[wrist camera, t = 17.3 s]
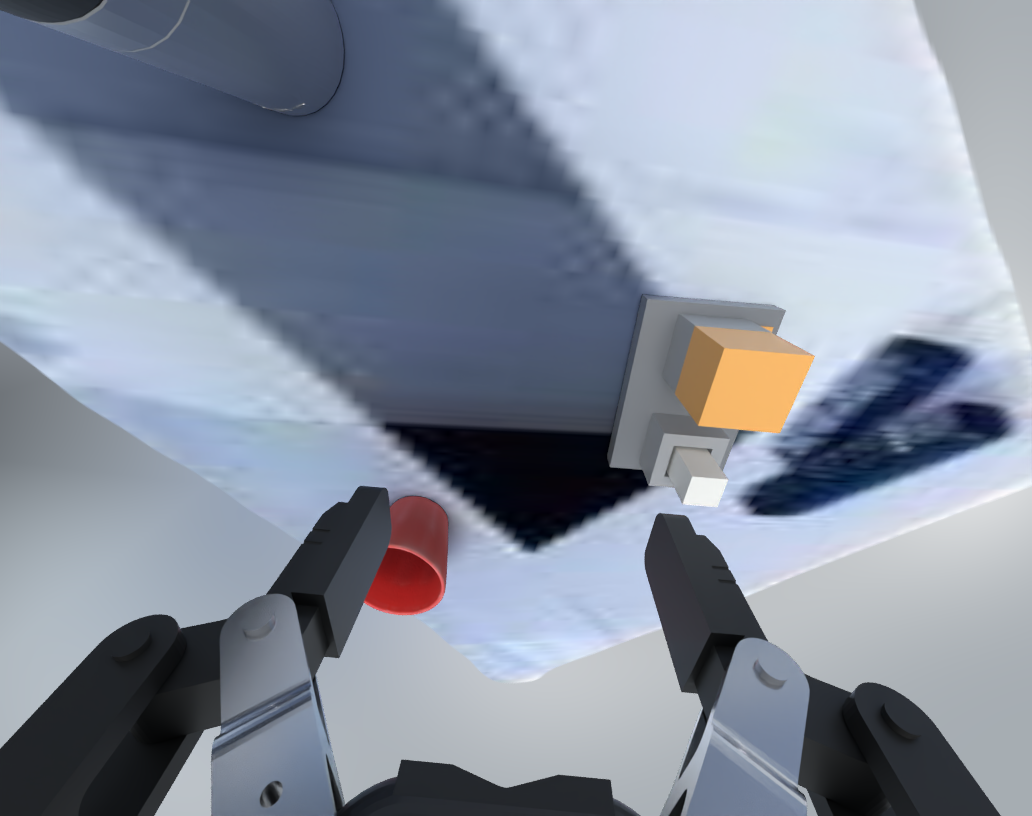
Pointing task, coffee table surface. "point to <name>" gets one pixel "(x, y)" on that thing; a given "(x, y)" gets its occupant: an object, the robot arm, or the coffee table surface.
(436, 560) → the flower pot
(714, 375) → the orange wooden cube
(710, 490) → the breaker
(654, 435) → the breaker panel
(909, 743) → the robot arm
